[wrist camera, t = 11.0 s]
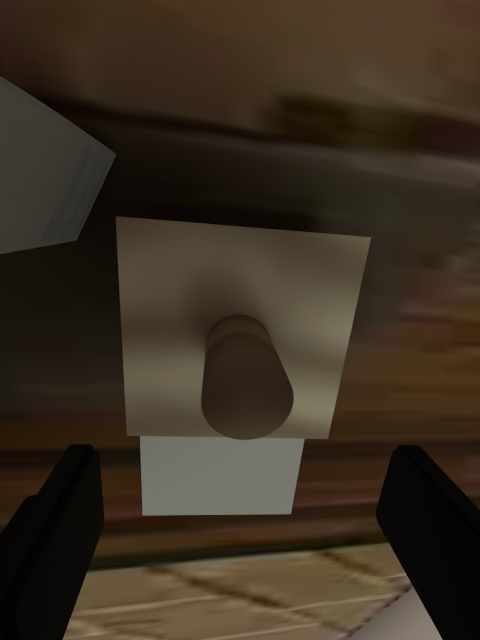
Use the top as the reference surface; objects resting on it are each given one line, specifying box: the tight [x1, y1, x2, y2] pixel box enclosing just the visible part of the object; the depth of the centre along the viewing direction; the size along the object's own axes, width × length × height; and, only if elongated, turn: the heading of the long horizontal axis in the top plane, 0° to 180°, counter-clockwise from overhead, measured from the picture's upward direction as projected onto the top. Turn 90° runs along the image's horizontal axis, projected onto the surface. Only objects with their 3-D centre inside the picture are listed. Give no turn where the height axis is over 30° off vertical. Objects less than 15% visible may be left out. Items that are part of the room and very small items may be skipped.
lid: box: [116, 217, 371, 440], centre depth 16 cm, size 14×14×7 cm
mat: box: [140, 436, 304, 515], centre depth 30 cm, size 16×16×1 cm
